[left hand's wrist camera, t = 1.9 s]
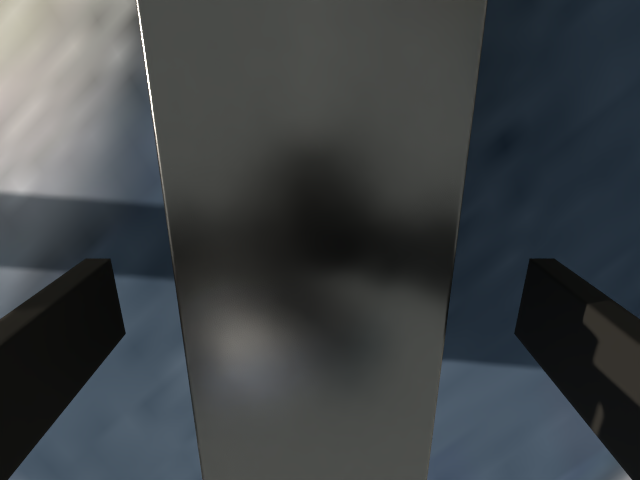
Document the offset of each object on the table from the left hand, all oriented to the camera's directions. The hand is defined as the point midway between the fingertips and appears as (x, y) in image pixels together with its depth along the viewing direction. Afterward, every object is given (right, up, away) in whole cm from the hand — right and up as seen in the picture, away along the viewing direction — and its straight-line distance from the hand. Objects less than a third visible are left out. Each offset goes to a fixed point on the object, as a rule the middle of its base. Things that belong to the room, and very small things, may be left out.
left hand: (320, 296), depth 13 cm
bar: (0, +12, +1) cm, 12 cm away
